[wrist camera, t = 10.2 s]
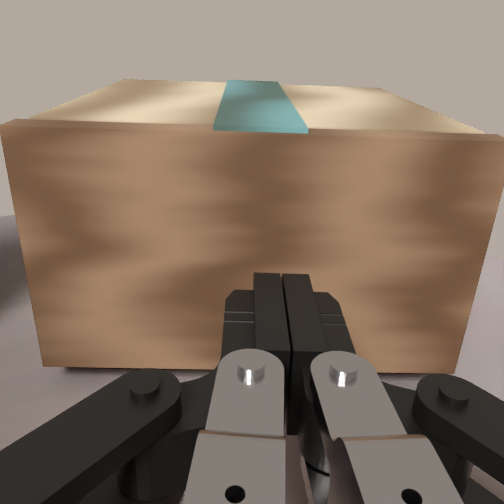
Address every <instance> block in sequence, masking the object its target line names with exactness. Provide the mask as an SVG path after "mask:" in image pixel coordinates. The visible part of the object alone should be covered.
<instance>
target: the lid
mask: <svg viewBox="0 0 504 504" xmlns="http://www.w3.org/2000/svg"><path fill="white" fill-rule="evenodd" d="M0 135H1V141H2V146H3V151H4V157H5V162H6V168H7V173H8V178H9V184H10V189H11V195H12V200H13V205H14V211H15V216H16V222H17V227H18V233H19V238H20V244H21V249H22V254H23V260H24V265H25V271H26V276H27V281H28V287H29V292H30V298H31V303H32V309H33V314H34V319H35V325H36V330H37V336H38V341H39V346H40V352H41V357H42V363H43V366H44V367H101V368H157V369H215V368H216V366H217V365H218V363H219V361H220V357H221V347H222V335H223V323H224V313H225V300H226V298H227V297H228V296H229V295H230V294H231V292H232V291H233V290H253V276H254V272H259V273H280V275H281V276H282V273H291V274H309V276H310V280H311V284H312V288H313V292H328V293H329V294H330V295H331V296H333V297H334V298H335V299H336V300H337V301H338V302H339V304H340V307H341V310H342V313H343V316H344V319H345V322H346V326H347V328H348V331H349V334H350V337H351V340H352V343H353V346H354V349H355V352H356V355H359V356H361V357H363V358H364V359H366V360H367V361H368V362H370V363H371V364H372V365H373V367H374V368H375V370H376V372H384V373H441V374H454V372H455V368H456V364H457V361H458V357H459V353H460V349H461V345H462V342H463V338H464V334H465V330H466V327H467V323H468V319H469V315H470V311H471V308H472V304H473V300H474V296H475V293H476V289H477V285H478V281H479V277H480V274H481V270H482V266H483V262H484V259H485V255H486V251H487V247H488V243H489V239H490V236H491V232H492V228H493V224H494V221H495V217H496V213H497V209H498V206H499V202H500V198H501V194H502V190H503V187H504V137H502V136H500V135H497V134H484V132H482V131H480V130H477V129H475V128H472V127H470V126H468V125H465V124H463V123H461V122H458V121H456V120H454V119H451V118H449V117H446V116H444V115H442V114H439V113H437V112H434V111H432V110H430V109H428V108H425V107H423V106H420V105H418V104H416V103H413V102H411V101H409V100H406V99H404V98H401V97H399V96H396V95H394V94H392V93H390V92H387V91H385V90H382V89H380V88H363V87H334V86H306V85H304V86H303V85H279V83H278V82H272V81H242V80H228V81H227V83H220V82H218V83H217V82H191V81H162V80H133V79H123V80H121V81H118V82H116V83H114V84H111V85H108V86H106V87H104V88H101V89H99V90H96V91H94V92H91V93H89V94H86V95H84V96H81V97H79V98H76V99H74V100H71V101H69V102H66V103H64V104H61V105H59V106H56V107H54V108H52V109H49V110H47V111H44V112H42V113H39V114H37V115H34V116H32V117H30V118H29V119H14V120H12V121H9V122H6V123H4V124H1V125H0Z"/></svg>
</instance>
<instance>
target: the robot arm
mask: <svg viewBox="0 0 504 504" xmlns="http://www.w3.org/2000/svg"><path fill="white" fill-rule="evenodd" d="M284 423H285V425H286V435H298V440H299V448H300V452H301V461H300V465H301V471H302V475H303V480H304V485H305V490H306V494H307V499H308V504H504V502H503V501H502V500H500V499H499V498H498V497H496V496H495V495H493V494H492V493H491V492H489V491H488V490H486V489H485V488H484V487H482V486H481V485H480V484H478V483H477V482H475V481H474V480H473V479H471V478H470V477H469V476H470V473H471V470H472V467H473V464H474V465H476V466H477V467H479V468H480V469H482V470H483V471H484V472H486V473H487V474H489V475H490V476H492V477H493V478H494V479H496V480H497V481H499V482H500V483H502V484H503V485H504V401H502V400H500V399H499V398H497V397H495V396H493V395H492V394H490V393H488V392H486V391H485V390H483V389H481V388H479V387H478V386H476V385H474V384H472V383H470V382H468V381H467V380H464V379H462V378H459V377H456V376H452V375H446V374H433V375H429V376H426V377H424V378H422V379H421V380H420V381H419V383H418V385H417V389H416V391H414V390H410V389H406V388H402V387H398V386H394V385H390V384H387V383H384V382H382V381H381V380H380V378H379V376H378V374H377V372H376V370H375V368H374V367H373V365H372V364H371V363H370V362H368V361H367V360H366V359H364V358H363V357H361V356H359V355H356V352H355V349H354V346H353V343H352V340H351V337H350V334H349V331H348V328H347V326H346V322H345V319H344V316H343V313H342V310H341V307H340V304H339V302H338V301H337V300H336V299H335V298H334V297H333V296H331V295H330V294H329V293H328V292H313V288H312V284H311V280H310V276H309V274H291V273H282V276H281V275H280V273H259V272H254V276H253V290H233V291H232V292H231V294H230V295H229V296H228V297H227V298H226V300H225V313H224V323H223V335H222V347H221V357H220V361H219V363H218V365H217V366H216V368H215V369H214V370H213V371H212V372H210V373H209V374H207V375H205V376H203V377H201V378H198V379H195V380H191V381H187V382H182V383H180V382H179V380H178V379H177V378H176V377H175V376H174V375H173V374H172V373H170V372H168V371H165V370H162V369H157V368H143V369H137V370H134V371H131V372H128V373H126V374H124V375H122V376H121V377H119V378H117V379H116V380H114V381H113V382H111V383H109V384H108V385H106V386H104V387H103V388H101V389H100V390H98V391H96V392H95V393H93V394H92V395H90V396H88V397H87V398H85V399H83V400H82V401H80V402H79V403H77V404H75V405H74V406H72V407H70V408H69V409H67V410H66V411H64V412H62V413H61V414H59V415H58V416H56V417H54V418H53V419H51V420H49V421H48V422H46V423H45V424H43V425H41V426H40V427H38V428H36V429H35V430H33V431H32V432H30V433H28V434H27V435H25V436H24V437H22V438H20V439H19V440H17V441H15V442H14V443H12V444H11V445H9V446H7V447H6V448H4V449H3V450H1V451H0V504H179V503H180V501H181V499H182V497H183V494H184V491H185V495H184V499H183V503H182V504H285V449H286V443H285V436H284Z"/></svg>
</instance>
